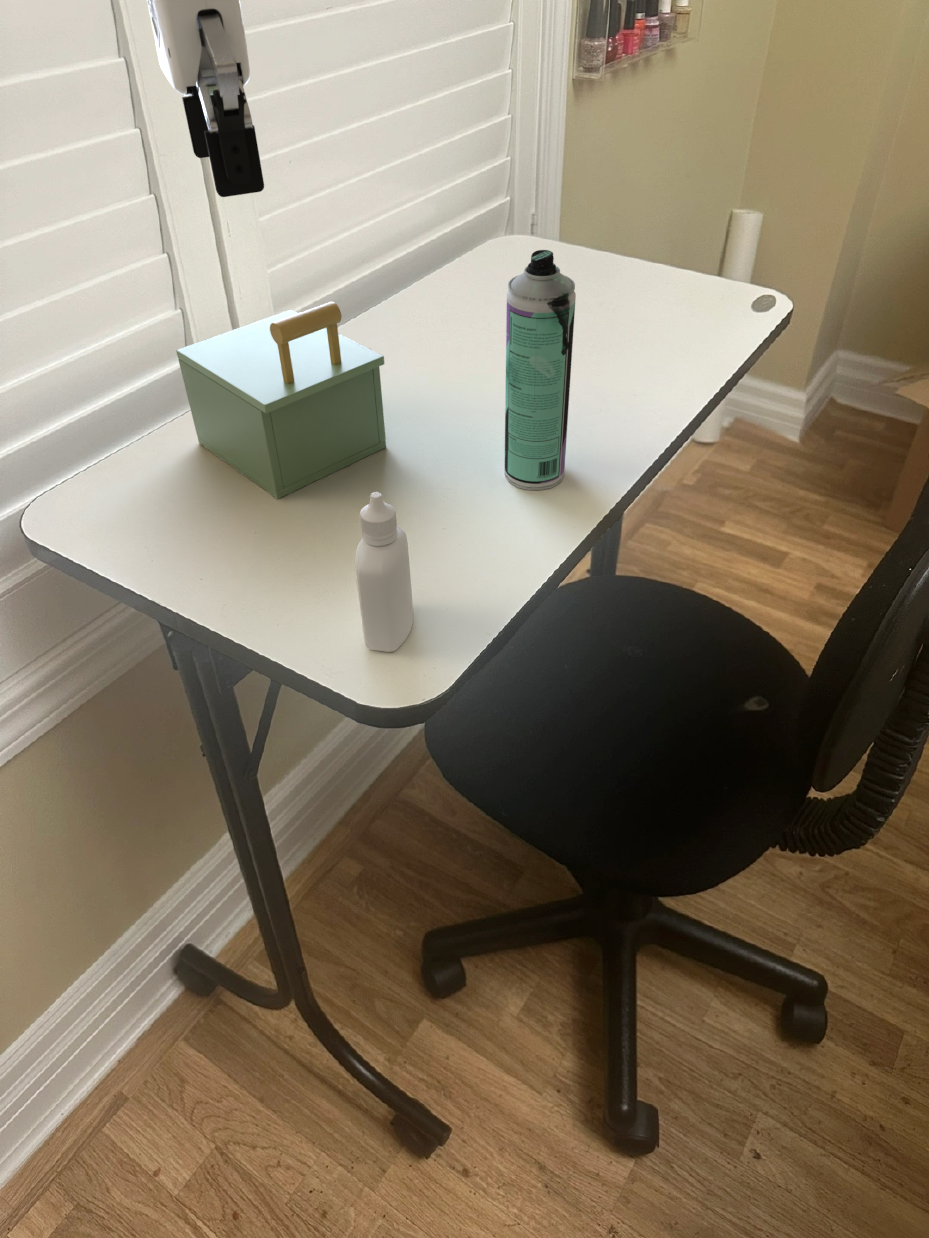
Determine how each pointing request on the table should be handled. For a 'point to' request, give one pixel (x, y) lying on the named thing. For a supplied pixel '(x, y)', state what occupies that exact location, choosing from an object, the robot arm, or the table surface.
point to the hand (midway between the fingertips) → (228, 173)
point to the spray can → (538, 373)
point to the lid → (282, 357)
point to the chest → (289, 430)
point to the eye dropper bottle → (383, 577)
